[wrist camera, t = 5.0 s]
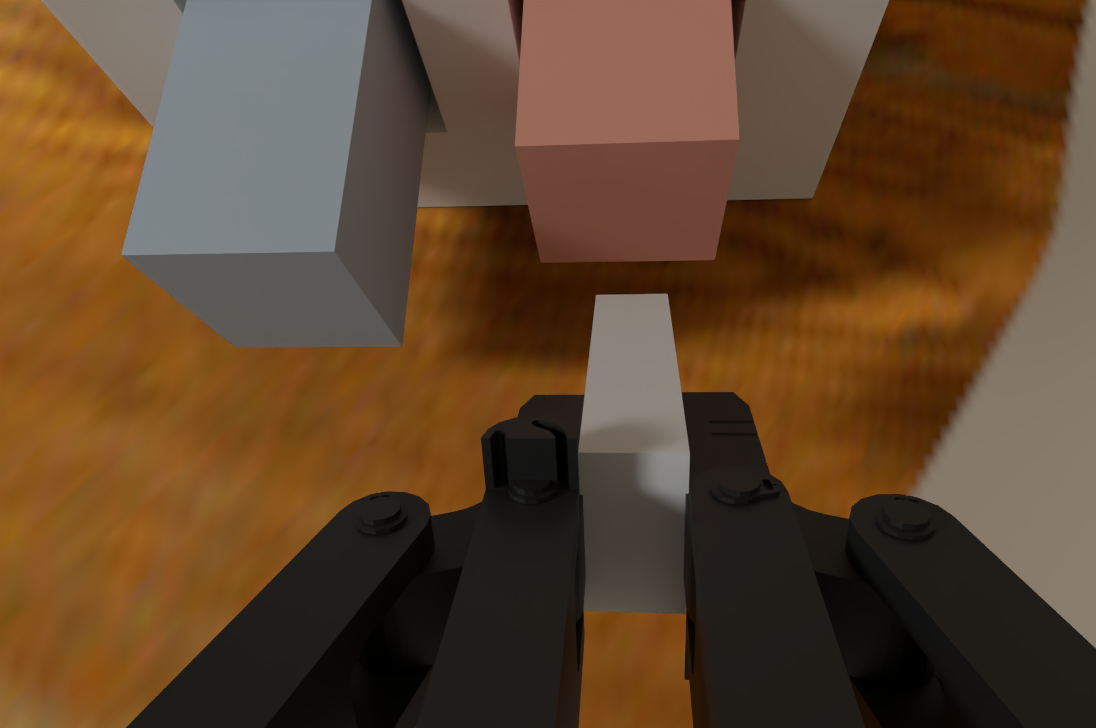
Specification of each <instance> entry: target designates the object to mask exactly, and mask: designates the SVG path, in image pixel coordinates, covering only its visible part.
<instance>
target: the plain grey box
mask: <svg viewBox="0 0 1096 728" xmlns="http://www.w3.org/2000/svg"><path fill="white" fill-rule="evenodd" d="M41 1H42V2H43V3H44V4H45V5H46V7H47V8H48V9H49V10H50V11H51V12H52V13H53V15H54V16H55V17H56V18H57V19H58V20H59V21H60V22H61V24H62V25H63V26H64V27H65V28H66V29H67V30H68V31H69V33H70V34H71V35H72V36H73V37H74V38H75V39H76V40H77V42H78V43H79V44H80V45H81V46H82V47H83V48H84V50H85V51H86V52H87V53H88V54H89V55H90V56H91V57H92V59H93V60H94V61H95V62H96V63H97V64H98V65H99V66H100V68H101V69H102V70H103V71H104V72H105V73H106V74H107V76H108V77H109V78H110V79H111V80H112V81H113V82H114V83H115V85H116V86H117V87H118V88H119V89H120V90H121V91H122V92H123V94H124V95H125V96H126V97H127V98H128V99H129V100H130V101H131V103H132V104H133V105H134V106H135V107H136V108H137V109H138V111H139V112H140V113H141V114H142V115H143V116H144V117H145V118H146V120H147V121H148V122H149V123H150V124H151V125H152V126H153V127H154V125H155V121H156V117H157V114H158V110H159V106H160V102H161V98H162V94H163V90H164V86H165V82H166V78H167V75H168V71H169V67H170V63H171V59H172V55H173V51H174V47H175V43H176V39H177V36H178V32H179V28H180V24H181V20H182V16H183V12H184V8H185V4H186V0H41ZM402 2H403V5H404V8H405V11H406V14H407V17H408V19H409V22H410V25H411V28H412V31H413V34H414V37H415V40H416V43H417V46H418V48H419V51H420V54H421V57H422V60H423V63H424V66H425V69H426V72H427V75H428V78H429V80H430V83H431V86H430V96H429V105H428V114H427V123H426V132H425V142H424V151H423V160H422V169H421V178H420V187H419V197H418V206H417V207H454V206H498V205H528V203H527V199H526V194H525V190H524V185H523V181H522V176H521V172H520V167H519V163H518V159H517V154H516V150H515V135H516V118H517V101H518V85H519V68H520V52H521V35H522V19H523V2H524V0H402ZM888 3H889V0H731V7H732V24H733V40H734V57H735V73H736V90H737V107H738V123H739V144H738V149H737V154H736V159H735V164H734V169H733V174H732V179H731V183H730V188H729V193H728V198H727V200H760V199H804V198H813V196H814V194H815V191H816V189H817V186H818V184H819V181H820V178H821V176H822V173H823V171H824V168H825V165H826V163H827V160H828V158H829V155H830V152H831V150H832V147H833V145H834V142H835V140H836V137H837V134H838V132H839V129H840V127H841V124H842V121H843V119H844V116H845V114H846V111H847V109H848V106H849V103H850V101H851V98H852V96H853V93H854V90H855V88H856V85H857V83H858V80H859V78H860V75H861V72H862V70H863V67H864V65H865V62H866V59H867V57H868V54H869V52H870V49H871V46H872V44H873V41H874V39H875V36H876V34H877V31H878V28H879V26H880V23H881V21H882V18H883V15H884V13H885V10H886V8H887V5H888Z"/></svg>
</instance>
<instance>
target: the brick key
mask: <svg viewBox="0 0 1096 728" xmlns="http://www.w3.org/2000/svg"><path fill="white" fill-rule="evenodd" d="M738 144H739V123H738V107H737V90H736V73H735V57H734V40H733V24H732V7H731V0H524V2H523V19H522V35H521V52H520V68H519V85H518V101H517V118H516V135H515V150H516V154H517V159H518V163H519V167H520V172H521V176H522V181H523V185H524V190H525V194H526V199H527V203H528V208H529V212H530V217H531V221H532V225H533V230H534V234H535V239H536V243H537V248H538V252H539V257H540V261H541V263H558V262H624V261H690V260H715V257H716V252H717V247H718V242H719V237H720V232H721V227H722V222H723V218H724V213H725V208H726V203H727V198H728V193H729V188H730V183H731V179H732V174H733V169H734V164H735V159H736V154H737V149H738Z"/></svg>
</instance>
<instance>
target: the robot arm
mask: <svg viewBox="0 0 1096 728" xmlns="http://www.w3.org/2000/svg"><path fill="white" fill-rule="evenodd" d="M481 443H482V454H483V464H484V475H485V485H486V491H485V494H484V497H483V501H482V502H480V503H479V504H476V505H474V506H472V507H469V508H467V509H463V510H459V511H455V512H450V513H445V514H440V515H434V516H431V513H430V509H429V504H427V503H426V502H425V501H424V500H423V499H422V498H420V497H419V496H416V495H412V494H409V493H406V492H381V493H375V494H371V495H368V496H366V497H363V498H361V499H358V500H356V501H353V502H352V503H350V504H349V505H348V506H346V507H345V508H344V509H342V510H341V511H340V512H339V513H338V514H337V515H336V516H335V517H334V518H333V519H332V520H331V521H330V522H329V523H328V524H327V525H326V526H325V527H324V528H323V529H322V530H321V531H320V532H319V533H318V534H317V535H316V536H315V537H314V538H313V539H312V540H311V541H310V542H309V543H308V544H307V545H306V546H305V547H304V548H303V549H302V550H301V551H300V552H299V553H298V554H297V555H296V556H295V557H294V558H293V559H292V560H291V561H290V562H289V563H288V564H287V565H286V566H285V567H284V568H283V569H282V570H281V571H280V572H279V573H278V574H277V575H276V576H275V577H274V578H273V579H272V580H271V581H270V582H269V583H268V584H267V586H266V587H265V588H264V589H263V590H262V591H261V592H260V593H259V594H258V595H257V596H256V597H255V598H254V599H253V600H252V601H251V602H250V603H249V604H248V605H247V606H246V607H245V608H244V609H243V610H242V611H241V612H240V613H239V614H238V615H237V616H236V617H235V618H234V619H233V620H232V621H231V622H230V623H229V624H228V625H227V626H226V627H225V628H224V629H223V630H222V631H221V632H220V633H219V634H218V635H217V636H216V637H215V638H214V639H213V640H212V641H211V642H210V643H209V644H208V645H207V646H206V647H205V648H204V649H203V650H202V651H201V652H200V653H199V654H198V655H197V656H196V657H195V658H194V659H193V660H192V661H191V662H190V663H189V664H188V665H187V666H186V667H185V668H184V669H183V670H182V672H181V673H180V674H179V675H178V676H177V677H176V678H175V679H174V680H173V681H172V682H171V683H170V684H169V685H168V686H167V687H166V688H165V689H164V690H163V691H162V692H161V693H160V694H159V695H158V696H157V697H156V698H155V699H154V700H153V701H152V702H151V703H150V704H149V705H148V706H147V707H146V708H145V709H144V710H143V711H142V712H141V713H140V714H139V715H138V716H137V717H136V718H135V719H134V720H133V721H132V722H131V723H130V724H129V725H128V726H127V727H126V728H415V727H416V728H578V726H579V711H580V696H581V680H582V665H583V650H584V612H583V607H584V611H604V612H643V613H682V614H685V611H686V608H687V611H686V646H685V680H689V682H690V693H691V704H692V716H693V727H694V728H1096V648H1094V647H1093V646H1092V645H1091V644H1090V643H1089V642H1088V641H1087V640H1086V639H1085V638H1084V637H1083V636H1082V635H1081V634H1080V633H1078V632H1077V631H1076V630H1075V629H1074V628H1073V627H1072V626H1071V625H1070V624H1069V623H1068V622H1066V620H1064V619H1063V618H1062V617H1061V616H1060V615H1059V614H1058V613H1057V612H1056V611H1055V610H1054V609H1053V608H1052V607H1051V606H1049V605H1048V604H1047V603H1046V602H1045V601H1044V600H1043V599H1042V598H1041V597H1040V596H1038V594H1036V593H1035V592H1034V591H1033V590H1032V589H1031V588H1030V587H1029V586H1028V585H1027V584H1026V583H1025V582H1024V581H1023V580H1021V579H1020V578H1019V577H1018V576H1017V575H1016V574H1015V573H1014V572H1013V571H1012V570H1011V569H1010V568H1008V567H1007V566H1006V565H1005V564H1004V563H1003V562H1002V561H1001V560H1000V559H999V558H998V557H997V556H996V555H995V554H994V553H992V552H991V551H990V550H989V549H988V548H987V547H986V546H985V545H984V544H983V543H981V541H980V540H979V539H977V538H976V537H975V536H974V535H973V534H972V533H971V532H970V531H969V530H968V529H967V528H966V527H964V526H963V525H962V524H961V523H960V522H959V521H958V520H957V519H956V518H955V517H954V516H952V515H951V514H950V513H948V512H946V511H945V510H943V509H942V508H941V507H939V506H938V505H935V504H932V503H930V502H927V501H925V500H922V499H920V498H917V497H913V496H905V495H901V494H877V495H874V496H870V497H866V498H863V499H861V500H860V501H858V502H857V503H856V504H855V505H853V506H852V508H851V513H850V517H849V519H846V518H841V517H836V516H831V515H826V514H822V513H818V512H814V511H811V510H807V509H805V508H803V507H800V506H798V505H796V504H794V503H792V502H791V499H790V496H789V493H788V491H787V489H786V488H785V486H784V485H783V484H782V482H781V481H780V480H778V479H776V478H775V477H773V476H772V475H770V473H769V469H768V466H767V463H766V460H765V456H764V453H763V450H762V447H761V443H760V440H759V437H758V436H757V430H756V427H755V424H754V420H753V417H752V414H751V411H750V407H749V405H748V404H746V403H745V402H744V401H743V400H742V399H740V398H739V397H738V396H737V395H736V394H734V393H733V392H681V386H680V379H679V372H678V364H677V357H676V350H675V343H674V336H673V329H672V321H671V314H670V307H669V300H668V294H618V295H596V300H595V308H594V317H593V326H592V335H591V344H590V352H589V361H588V370H587V379H586V388H585V395H534V396H533V397H532V398H531V399H530V400H529V401H528V402H526V403H525V404H524V405H523V406H522V407H521V408H520V411H519V414H518V417H517V418H513V419H509V420H506V421H503V422H499V423H498V424H496V425H494V426H493V427H491V428H489V429H488V430H487V431H486V432H485V434H484V435H483V436H482V438H481ZM416 725H417V726H416Z"/></svg>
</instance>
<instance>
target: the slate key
mask: <svg viewBox="0 0 1096 728" xmlns="http://www.w3.org/2000/svg"><path fill="white" fill-rule="evenodd" d="M430 86H431V83H430V80H429V78H428V75H427V72H426V69H425V66H424V63H423V60H422V57H421V54H420V51H419V48H418V46H417V43H416V40H415V37H414V34H413V31H412V28H411V25H410V22H409V19H408V17H407V14H406V11H405V8H404V5H403V2H402V0H186V4H185V8H184V12H183V16H182V20H181V24H180V28H179V32H178V36H177V39H176V43H175V47H174V51H173V55H172V59H171V63H170V67H169V71H168V75H167V78H166V82H165V86H164V90H163V94H162V98H161V102H160V106H159V110H158V114H157V117H156V121H155V125H154V129H153V133H152V137H151V141H150V145H149V149H148V153H147V157H146V160H145V164H144V168H143V172H142V176H141V180H140V184H139V188H138V192H137V196H136V199H135V203H134V207H133V211H132V215H131V219H130V223H129V227H128V231H127V235H126V238H125V242H124V246H123V250H122V254H121V256H123V257H124V258H125V259H126V260H128V261H129V262H130V263H131V264H133V265H134V266H135V267H136V268H138V269H139V270H140V271H141V272H143V273H144V274H145V275H146V276H147V277H149V278H150V279H151V280H152V281H154V282H155V283H156V284H157V285H159V286H160V287H161V288H162V289H164V290H165V291H166V292H167V293H169V294H170V295H171V296H172V297H174V298H175V299H176V300H177V301H178V302H180V303H181V304H182V305H183V306H185V307H186V308H187V309H188V310H190V311H191V312H192V313H193V314H195V315H196V316H197V317H198V318H200V319H201V320H202V321H203V322H204V323H206V324H207V325H208V326H209V327H211V328H212V329H213V330H214V331H216V332H217V333H218V334H219V335H221V336H222V337H223V338H224V339H226V340H227V341H228V342H229V343H230V344H232V345H233V346H234V347H402V343H403V334H404V325H405V316H406V307H407V297H408V288H409V279H410V270H411V261H412V252H413V242H414V233H415V224H416V215H417V206H418V197H419V187H420V178H421V169H422V160H423V151H424V142H425V132H426V123H427V114H428V105H429V96H430Z"/></svg>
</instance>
